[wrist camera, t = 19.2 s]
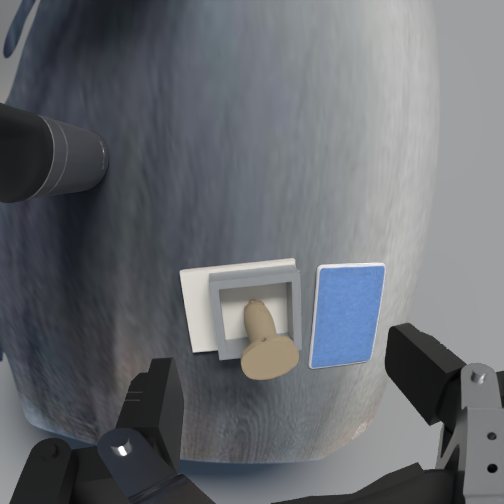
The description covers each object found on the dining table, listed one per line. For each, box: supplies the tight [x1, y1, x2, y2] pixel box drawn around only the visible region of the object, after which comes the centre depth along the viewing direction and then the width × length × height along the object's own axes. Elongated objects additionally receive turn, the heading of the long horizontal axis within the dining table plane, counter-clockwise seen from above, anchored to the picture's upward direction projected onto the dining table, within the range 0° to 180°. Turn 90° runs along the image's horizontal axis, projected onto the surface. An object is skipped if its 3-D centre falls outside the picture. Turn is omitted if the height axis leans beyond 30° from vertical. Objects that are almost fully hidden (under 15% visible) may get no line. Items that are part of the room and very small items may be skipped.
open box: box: [180, 258, 302, 360], centre depth 46 cm, size 17×14×5 cm
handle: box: [241, 299, 299, 380], centre depth 40 cm, size 5×6×15 cm
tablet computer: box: [308, 263, 386, 369], centre depth 51 cm, size 19×13×1 cm, turn 0°
